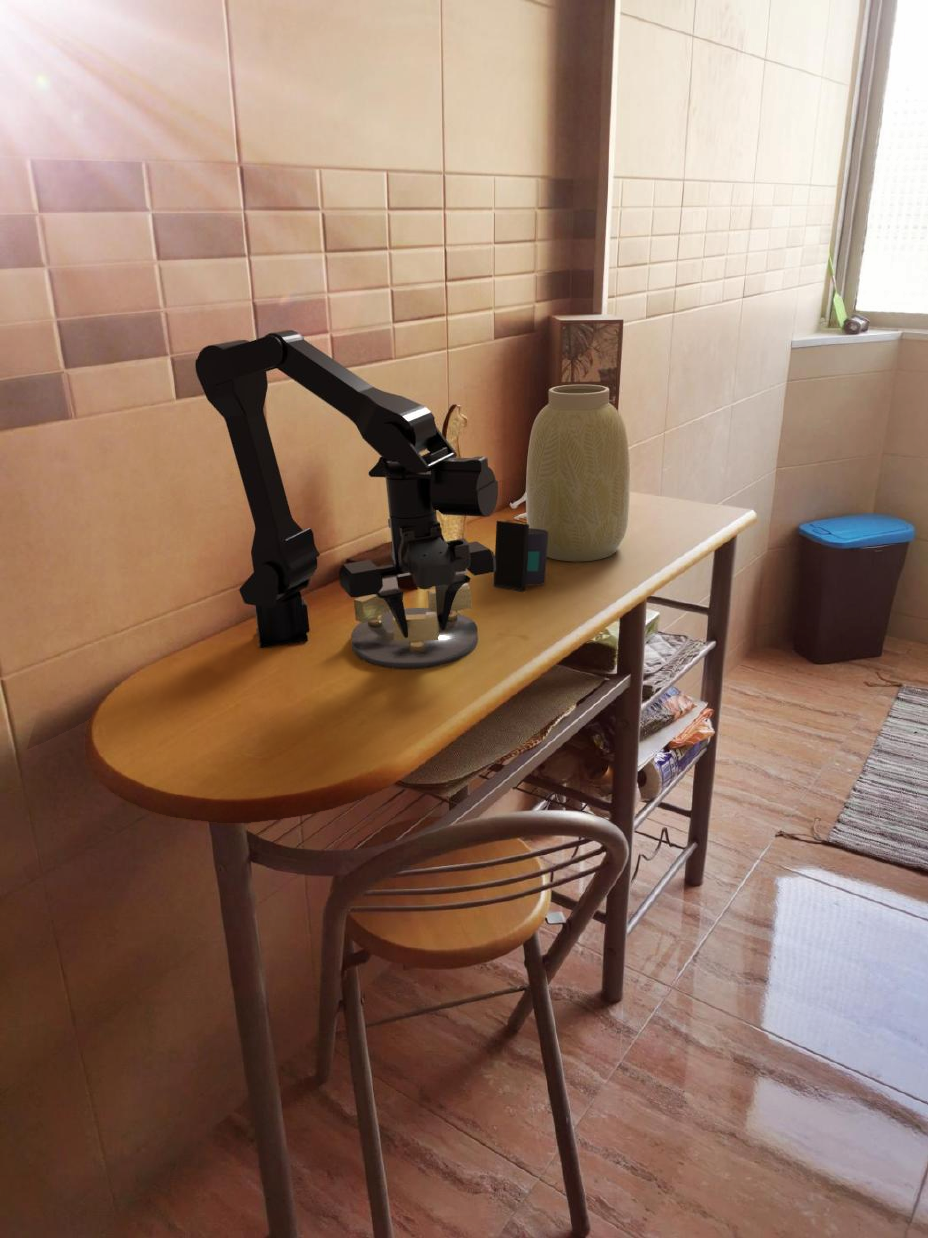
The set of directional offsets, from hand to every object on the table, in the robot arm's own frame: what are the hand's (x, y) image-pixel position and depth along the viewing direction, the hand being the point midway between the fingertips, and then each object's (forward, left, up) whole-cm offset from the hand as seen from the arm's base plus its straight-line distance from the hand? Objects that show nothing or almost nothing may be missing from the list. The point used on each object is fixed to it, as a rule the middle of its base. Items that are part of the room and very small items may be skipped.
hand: (423, 633), depth 117 cm
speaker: (+21, +23, -5) cm, 32 cm away
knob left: (-4, +11, -3) cm, 12 cm away
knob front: (-1, +1, -3) cm, 3 cm away
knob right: (+6, +9, -3) cm, 11 cm away
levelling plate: (0, +7, -4) cm, 8 cm away
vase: (+35, +35, -5) cm, 50 cm away
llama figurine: (+37, +50, -5) cm, 63 cm away
